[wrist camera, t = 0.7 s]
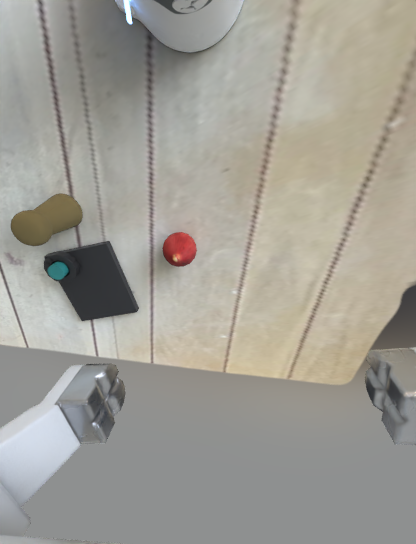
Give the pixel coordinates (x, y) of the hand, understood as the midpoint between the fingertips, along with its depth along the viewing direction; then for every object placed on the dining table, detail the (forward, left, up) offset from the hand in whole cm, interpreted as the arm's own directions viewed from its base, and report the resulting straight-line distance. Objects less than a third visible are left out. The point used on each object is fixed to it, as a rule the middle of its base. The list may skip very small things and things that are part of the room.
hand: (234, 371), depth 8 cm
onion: (+9, -10, -39) cm, 41 cm away
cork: (-1, -29, -39) cm, 48 cm away
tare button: (+9, -33, -36) cm, 50 cm away
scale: (+14, -30, -39) cm, 51 cm away
